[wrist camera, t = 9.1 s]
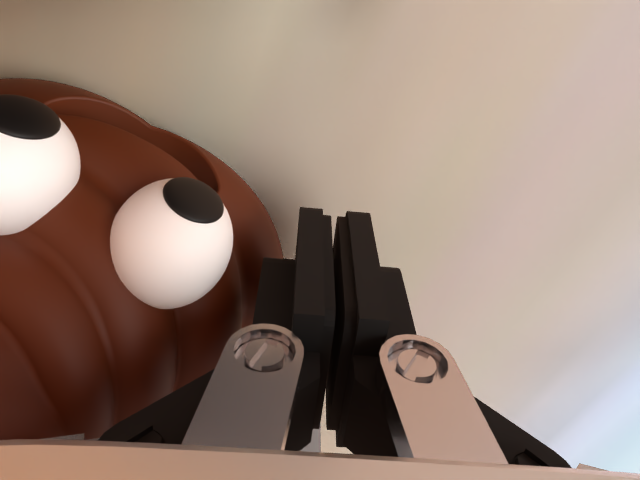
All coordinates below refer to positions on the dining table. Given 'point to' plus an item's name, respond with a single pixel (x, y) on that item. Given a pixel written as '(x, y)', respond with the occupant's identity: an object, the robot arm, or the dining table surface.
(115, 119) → the poop emoji
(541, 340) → the dining table surface
